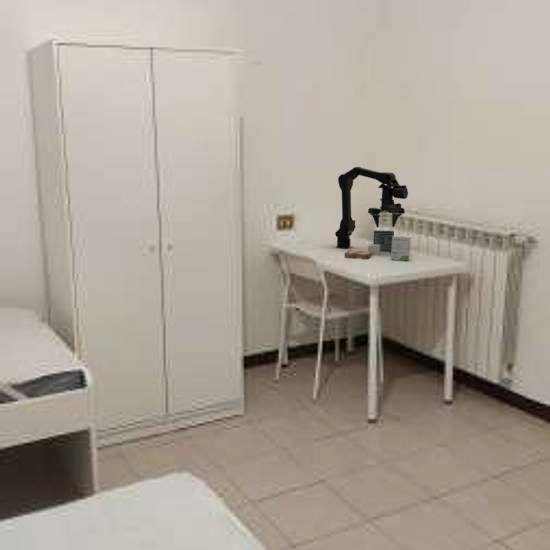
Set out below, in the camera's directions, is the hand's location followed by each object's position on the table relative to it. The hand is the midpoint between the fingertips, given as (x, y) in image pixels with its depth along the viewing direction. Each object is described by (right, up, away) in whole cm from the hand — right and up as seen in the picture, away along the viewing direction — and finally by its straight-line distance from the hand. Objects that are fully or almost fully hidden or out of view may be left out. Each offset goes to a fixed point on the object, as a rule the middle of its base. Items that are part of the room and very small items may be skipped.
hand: (385, 227), depth 369 cm
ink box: (+5, -17, -15) cm, 24 cm away
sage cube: (-6, -14, -2) cm, 16 cm away
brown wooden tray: (-15, -16, -10) cm, 24 cm away
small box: (0, -12, +10) cm, 16 cm away
